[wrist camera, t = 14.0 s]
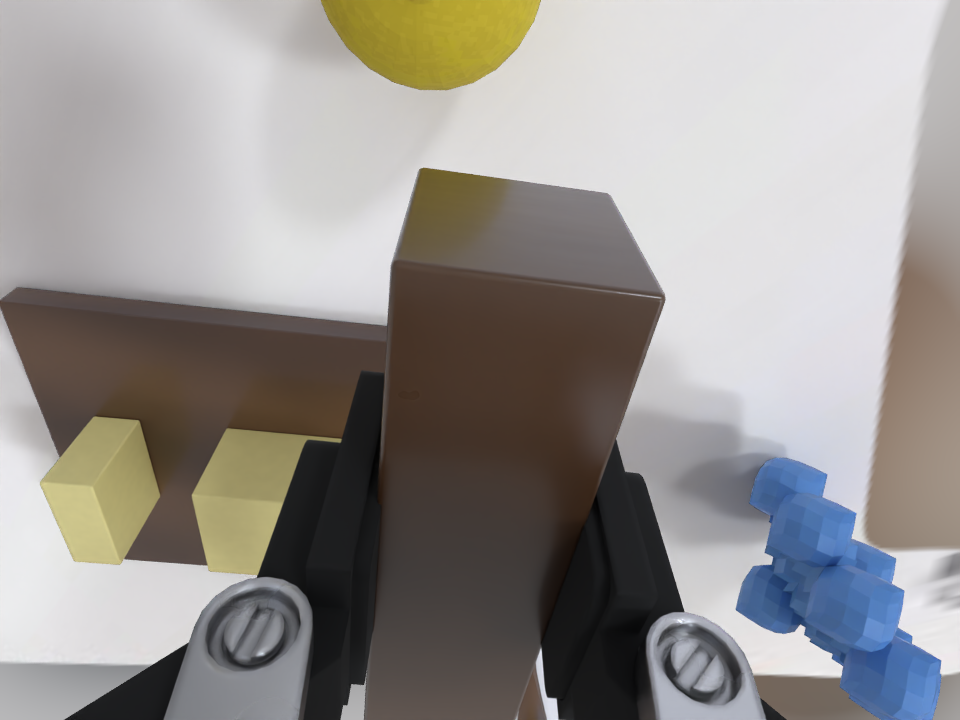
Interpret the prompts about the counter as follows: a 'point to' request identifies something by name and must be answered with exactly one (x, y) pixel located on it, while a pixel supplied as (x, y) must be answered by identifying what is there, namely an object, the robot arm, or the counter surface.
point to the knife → (494, 429)
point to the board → (185, 384)
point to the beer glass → (537, 697)
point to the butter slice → (102, 490)
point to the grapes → (836, 594)
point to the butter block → (245, 496)
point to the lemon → (432, 37)
